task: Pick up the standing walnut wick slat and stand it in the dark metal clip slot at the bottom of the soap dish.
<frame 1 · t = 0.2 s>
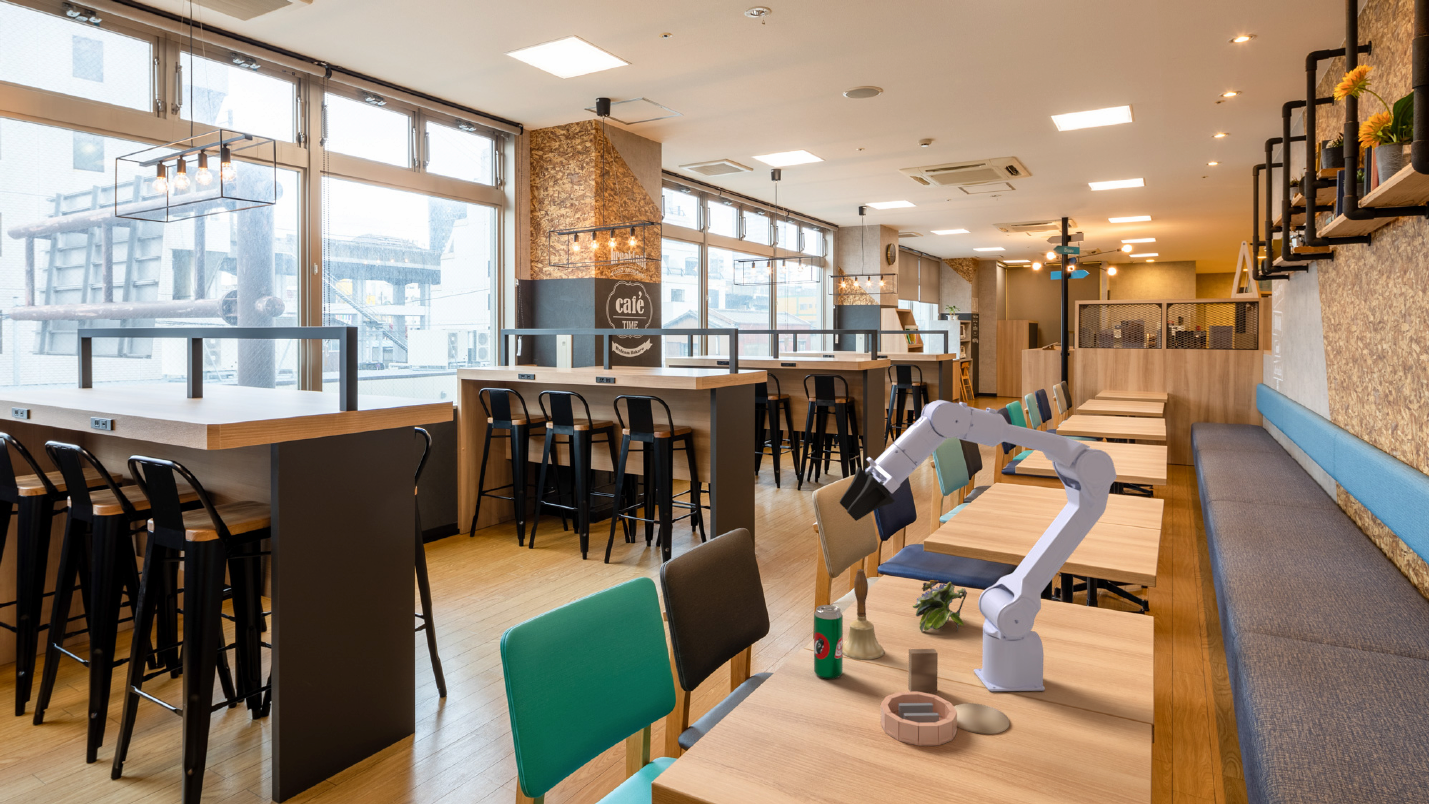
hand: (847, 511, 130), 31 cm above the table, tool tilted 45°, fingers open, 7 cm apart
hand bell: (861, 652, 147), on the table
green leafy plant: (941, 627, 159), on the table
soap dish: (918, 726, 118), on the table
soda can: (828, 675, 137), on the table
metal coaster: (978, 719, 120), on the table
wood wick: (922, 691, 130), on the table
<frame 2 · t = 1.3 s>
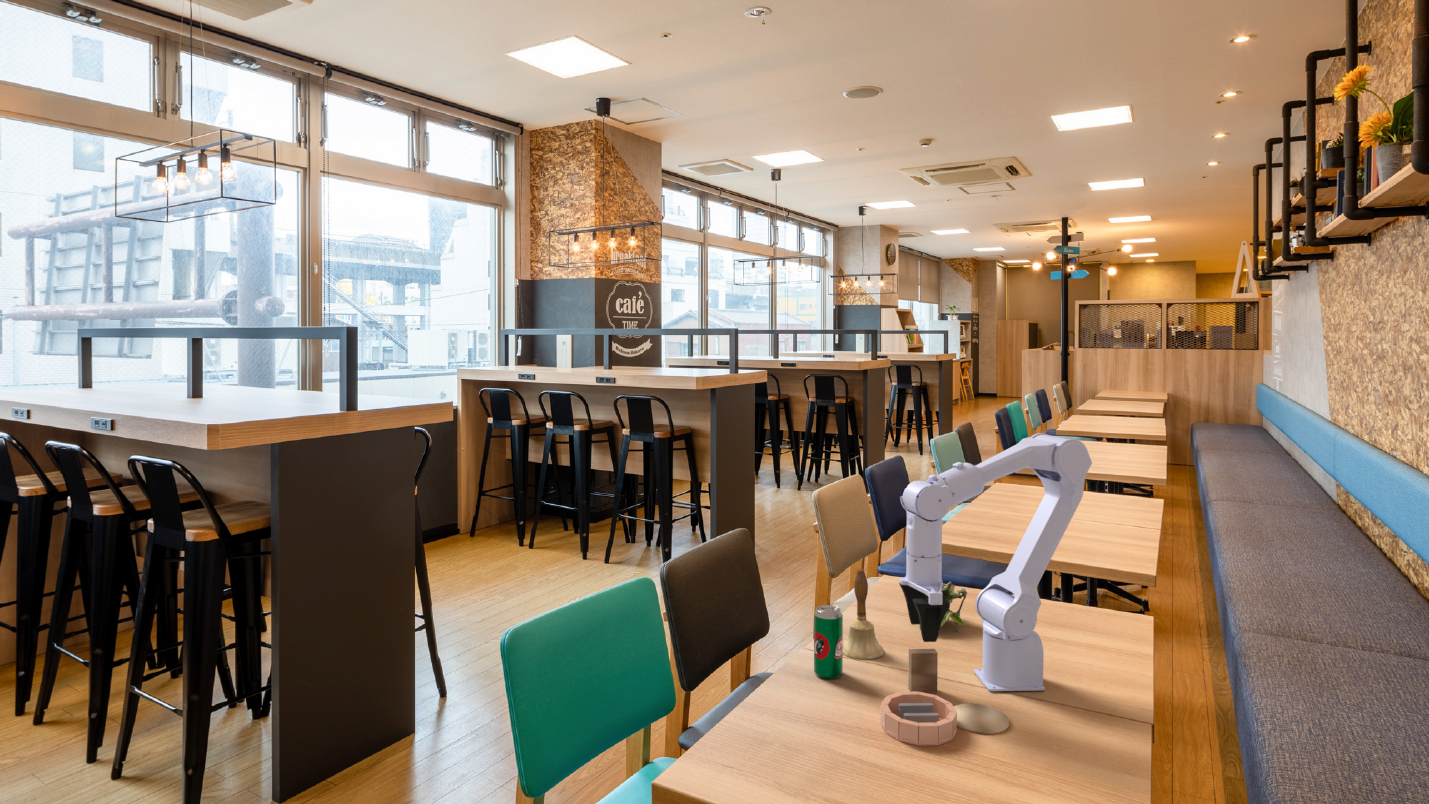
hand: (923, 632, 129), 10 cm above the table, tool pointing down, fingers open, 7 cm apart
nothing on the table moved.
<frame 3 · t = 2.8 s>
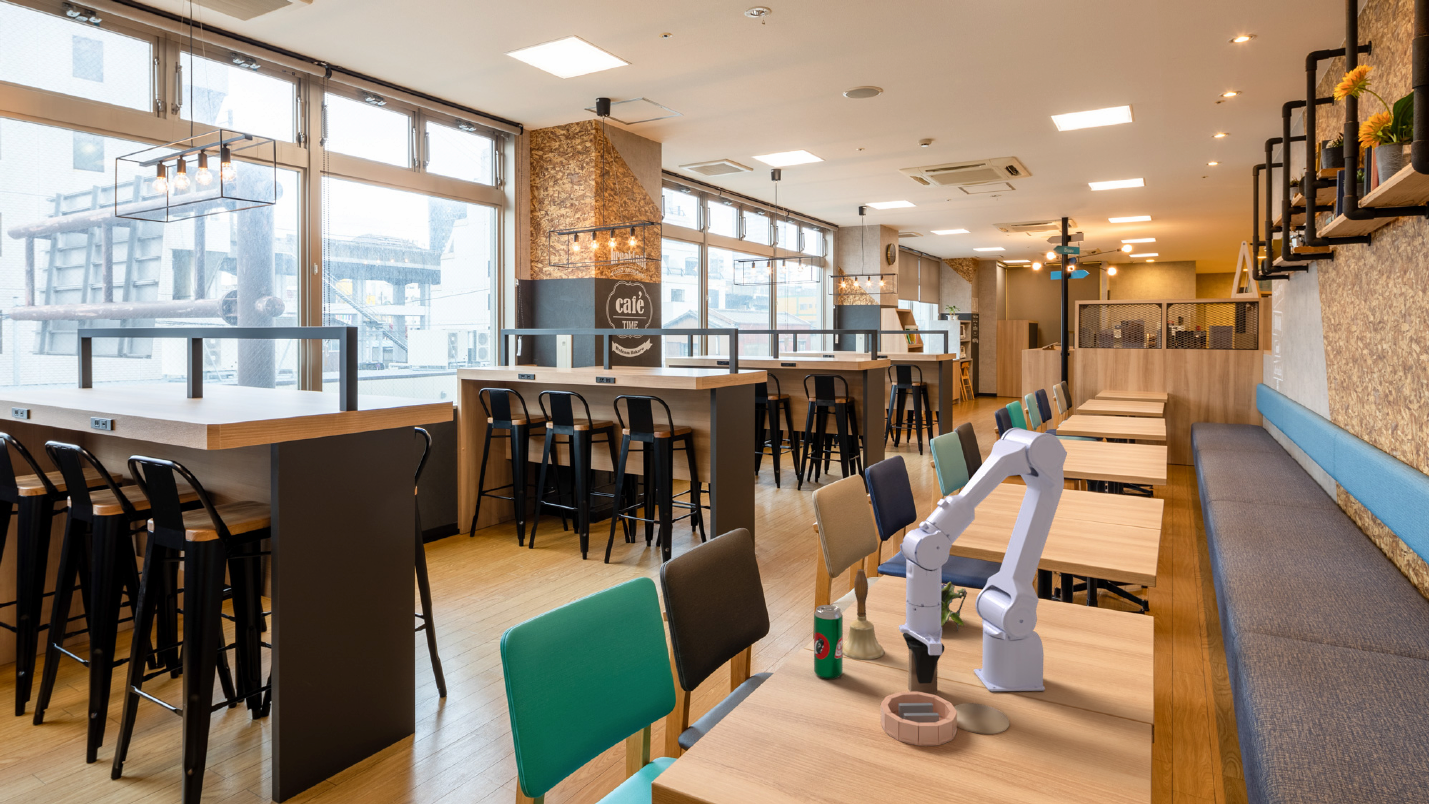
hand: (922, 679, 130), 2 cm above the table, tool pointing down, fingers closed on wood wick, 2 cm apart
wood wick: (922, 690, 130), on the table, touching gripper
everything else where it was.
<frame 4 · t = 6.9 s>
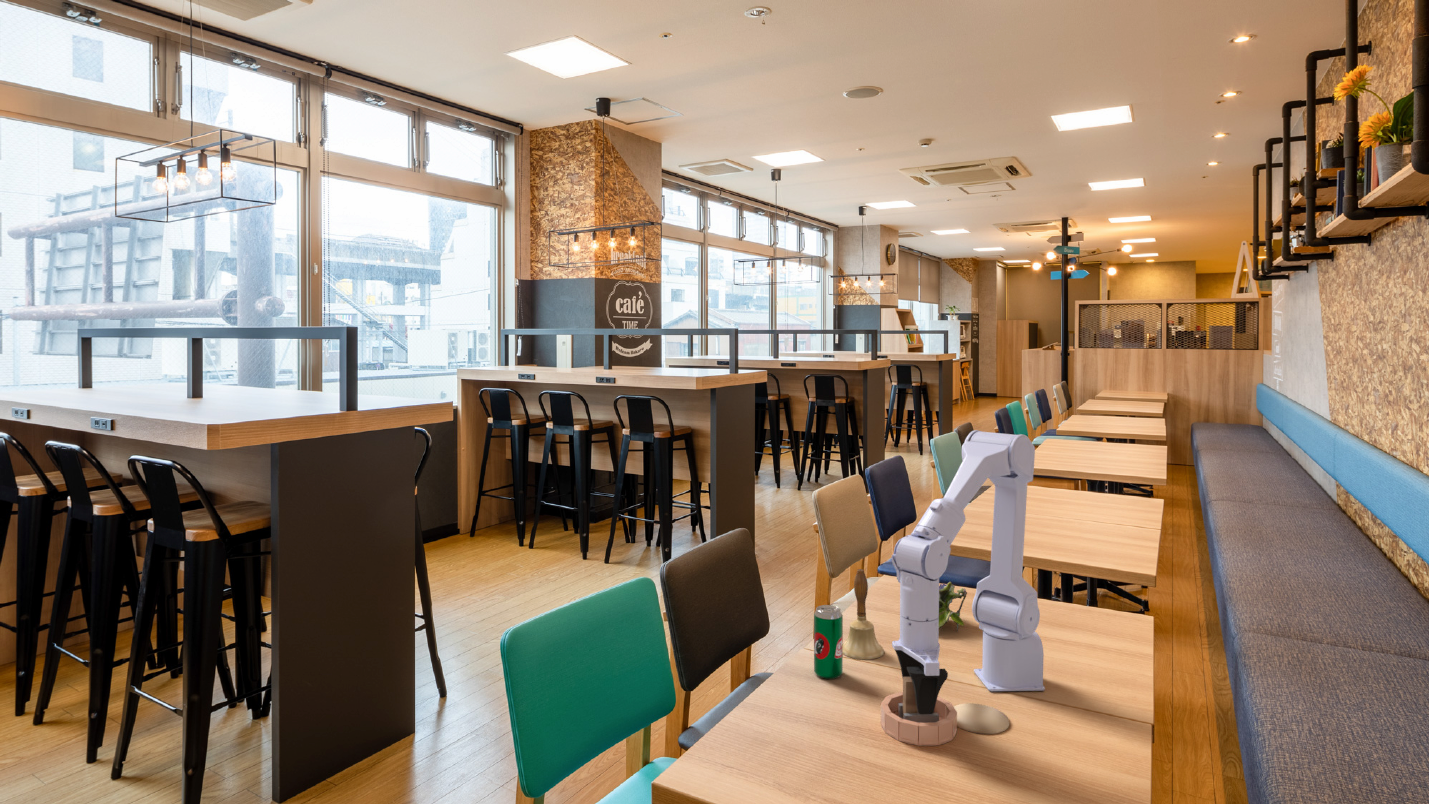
hand: (918, 701, 118), 4 cm above the table, tool pointing down, fingers open, 7 cm apart
wood wick: (918, 723, 118), point 1 cm above the table, touching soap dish
everything else where it was.
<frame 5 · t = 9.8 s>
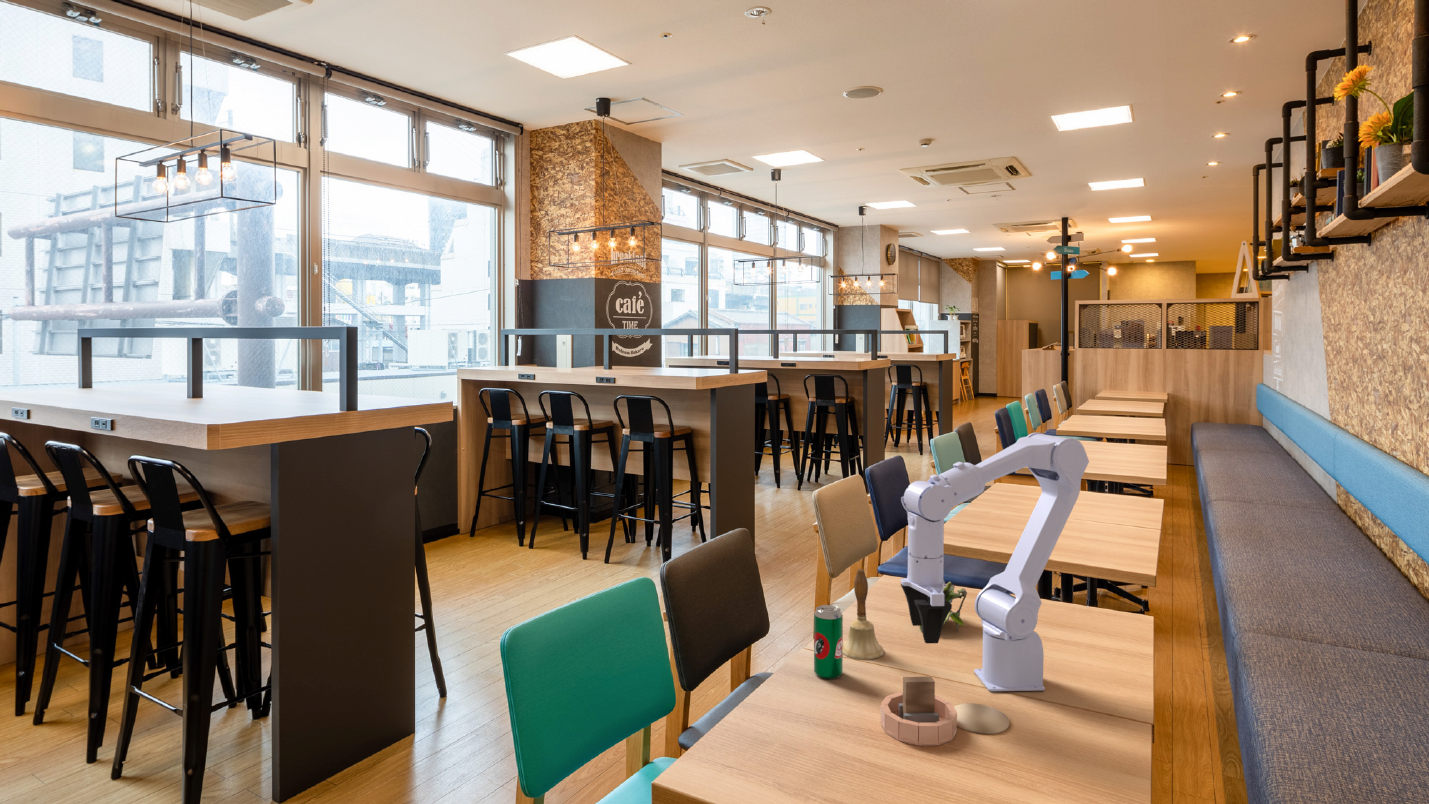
hand: (924, 633, 128), 10 cm above the table, tool pointing down, fingers open, 7 cm apart
nothing on the table moved.
at the end: wood wick 0.0 cm off-centre on the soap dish, point 0.6 cm above the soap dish's base; wood wick tilted 0°; the gripper is holding nothing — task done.
